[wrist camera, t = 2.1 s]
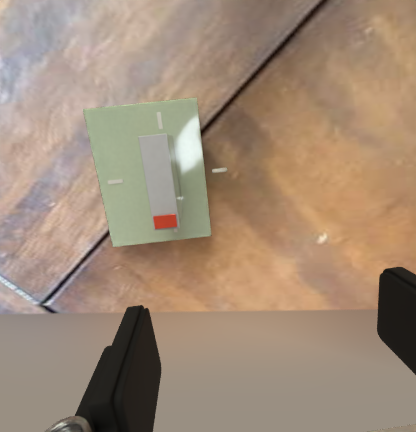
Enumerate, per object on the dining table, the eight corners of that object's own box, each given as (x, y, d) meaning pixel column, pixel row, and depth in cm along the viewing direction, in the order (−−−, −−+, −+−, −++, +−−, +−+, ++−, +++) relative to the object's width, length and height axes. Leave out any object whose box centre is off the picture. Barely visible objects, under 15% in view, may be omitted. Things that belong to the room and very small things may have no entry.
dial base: (95, 113, 25) (81, 108, 22) (217, 100, 25) (220, 94, 22) (121, 237, 29) (112, 248, 26) (228, 224, 29) (232, 234, 26)
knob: (151, 138, 23) (137, 136, 18) (173, 135, 23) (166, 133, 18) (162, 212, 25) (153, 232, 20) (183, 210, 25) (179, 229, 20)
